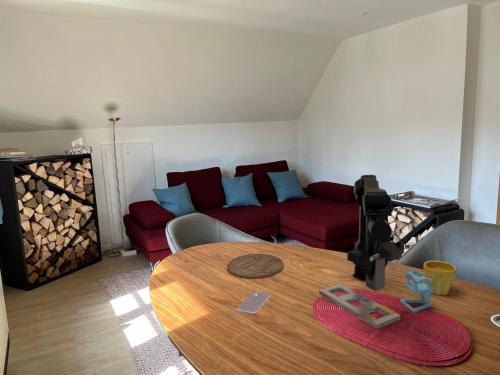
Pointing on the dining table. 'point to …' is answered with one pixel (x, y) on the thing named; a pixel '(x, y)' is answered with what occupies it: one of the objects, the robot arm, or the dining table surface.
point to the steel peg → (377, 274)
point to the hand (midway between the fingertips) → (375, 278)
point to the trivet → (255, 266)
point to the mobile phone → (253, 302)
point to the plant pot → (439, 276)
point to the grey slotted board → (363, 310)
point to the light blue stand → (418, 290)
